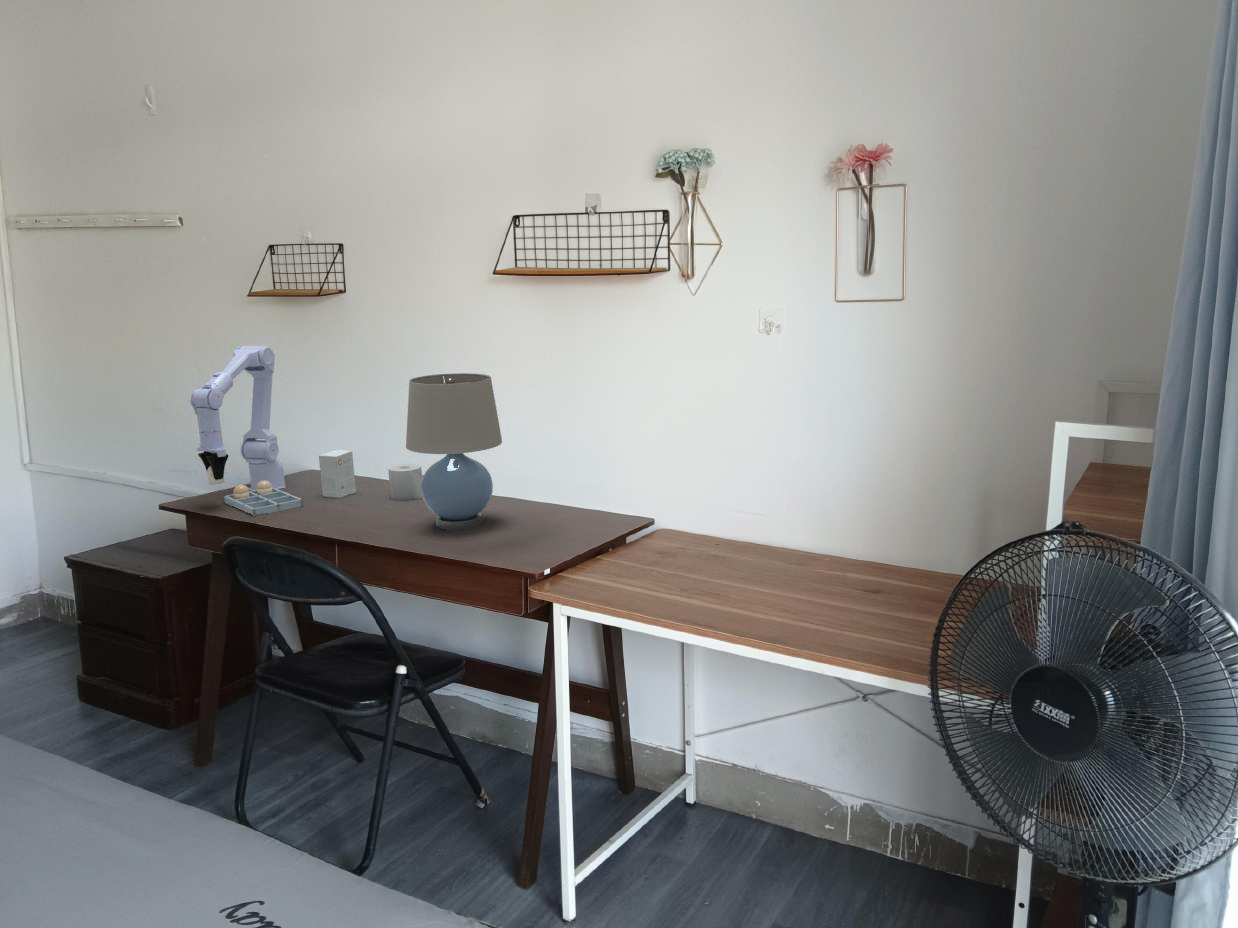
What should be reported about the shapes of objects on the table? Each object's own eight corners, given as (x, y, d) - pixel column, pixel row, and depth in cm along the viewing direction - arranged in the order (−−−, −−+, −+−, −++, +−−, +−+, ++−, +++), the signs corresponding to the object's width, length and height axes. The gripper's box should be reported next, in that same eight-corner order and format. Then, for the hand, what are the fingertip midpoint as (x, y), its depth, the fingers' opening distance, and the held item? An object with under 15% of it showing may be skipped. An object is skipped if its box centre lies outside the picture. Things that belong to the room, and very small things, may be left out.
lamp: (405, 517, 255) (394, 375, 246) (494, 506, 263) (487, 369, 254) (419, 542, 232) (408, 387, 223) (516, 530, 240) (509, 380, 232)
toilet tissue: (436, 497, 275) (434, 468, 273) (390, 500, 272) (388, 472, 270) (435, 489, 284) (433, 462, 282) (390, 493, 281) (388, 465, 279)
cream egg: (221, 480, 269) (219, 462, 268) (226, 482, 266) (224, 464, 265) (206, 482, 267) (204, 464, 266) (211, 485, 264) (209, 467, 262)
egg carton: (272, 494, 282) (271, 486, 281) (303, 507, 266) (302, 499, 266) (224, 504, 272) (223, 496, 271) (253, 518, 257) (252, 509, 256)
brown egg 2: (269, 495, 279) (267, 478, 278) (275, 497, 276) (273, 480, 275) (255, 498, 276) (253, 480, 275) (261, 500, 273) (259, 483, 272)
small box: (339, 491, 284) (335, 449, 281) (356, 492, 282) (353, 450, 279) (322, 498, 277) (318, 455, 274) (340, 499, 275) (336, 456, 272)
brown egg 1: (246, 499, 275) (244, 482, 273) (252, 502, 272) (250, 484, 270) (232, 502, 272) (230, 484, 271) (238, 505, 269) (235, 487, 268)
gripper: (186, 429, 266) (192, 476, 269) (204, 436, 255) (210, 484, 258) (212, 426, 270) (217, 471, 273) (230, 432, 260) (236, 480, 263)
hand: (216, 477), depth 266 cm, fingers closed on cream egg, 4 cm apart
